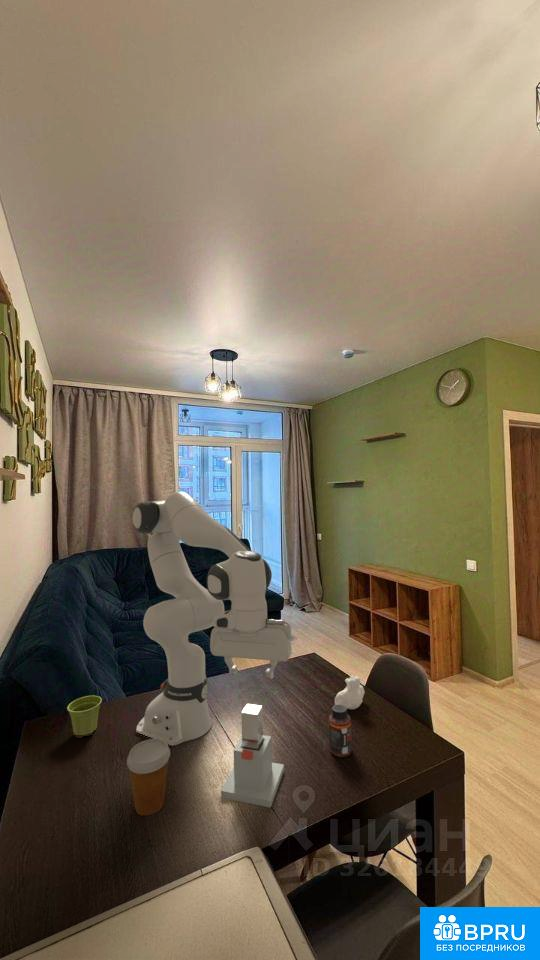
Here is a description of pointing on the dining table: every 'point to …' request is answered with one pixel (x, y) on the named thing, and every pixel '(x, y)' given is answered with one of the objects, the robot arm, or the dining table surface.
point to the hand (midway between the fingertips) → (251, 675)
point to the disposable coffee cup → (148, 774)
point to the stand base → (253, 775)
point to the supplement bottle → (340, 731)
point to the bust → (351, 693)
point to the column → (252, 727)
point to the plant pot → (84, 714)
